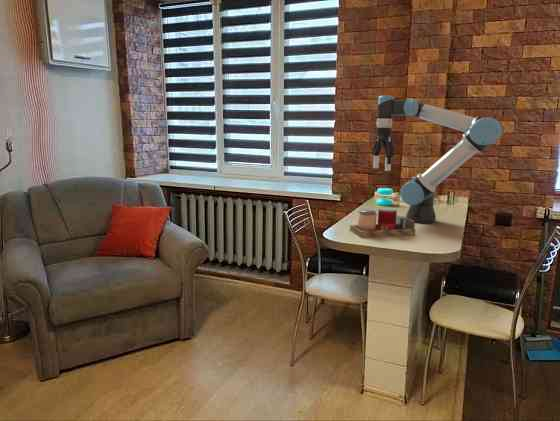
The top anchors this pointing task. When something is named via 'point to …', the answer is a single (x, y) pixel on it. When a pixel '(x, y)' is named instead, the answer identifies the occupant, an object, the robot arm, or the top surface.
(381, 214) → the canned food
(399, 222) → the bar
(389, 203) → the donuts
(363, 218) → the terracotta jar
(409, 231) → the wooden box
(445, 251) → the top surface
